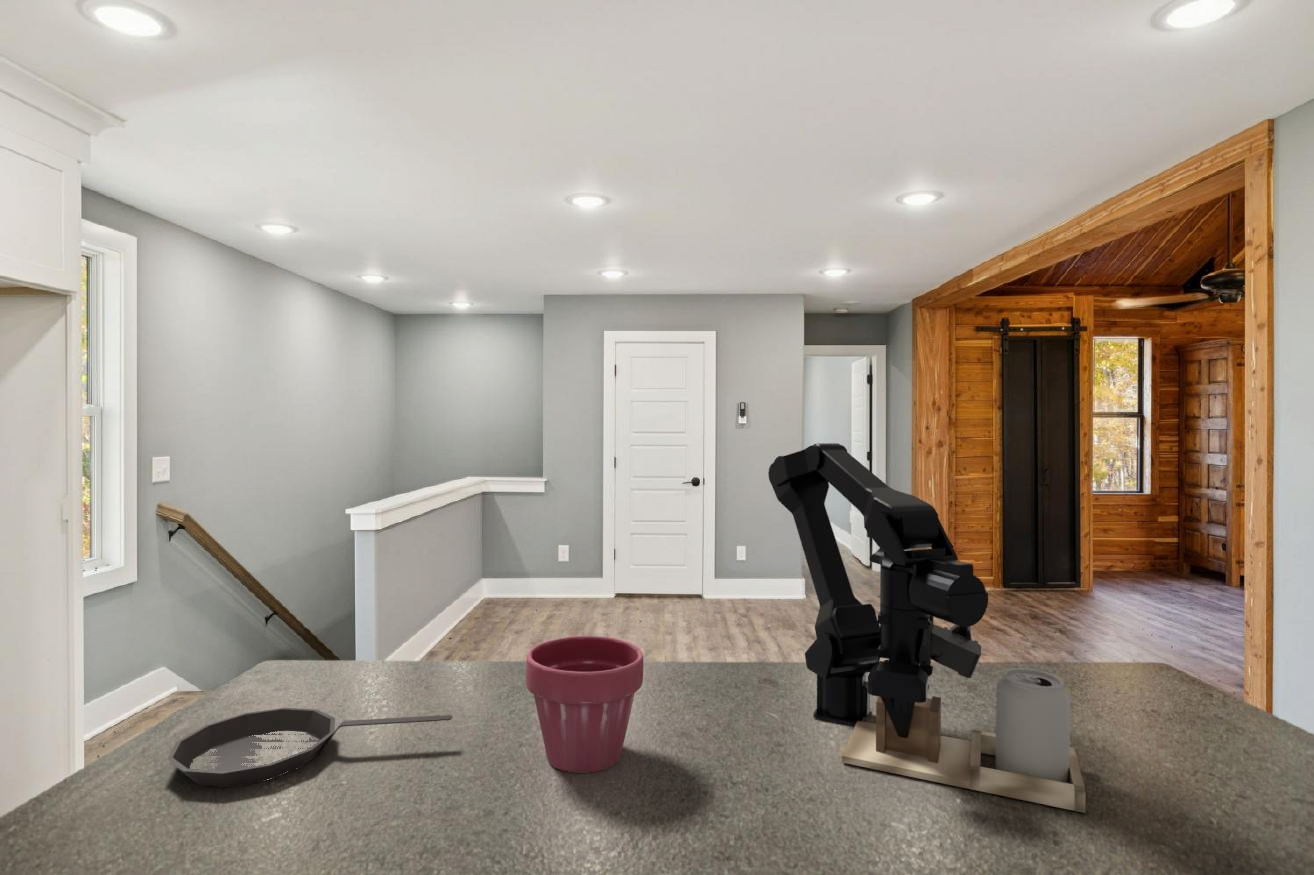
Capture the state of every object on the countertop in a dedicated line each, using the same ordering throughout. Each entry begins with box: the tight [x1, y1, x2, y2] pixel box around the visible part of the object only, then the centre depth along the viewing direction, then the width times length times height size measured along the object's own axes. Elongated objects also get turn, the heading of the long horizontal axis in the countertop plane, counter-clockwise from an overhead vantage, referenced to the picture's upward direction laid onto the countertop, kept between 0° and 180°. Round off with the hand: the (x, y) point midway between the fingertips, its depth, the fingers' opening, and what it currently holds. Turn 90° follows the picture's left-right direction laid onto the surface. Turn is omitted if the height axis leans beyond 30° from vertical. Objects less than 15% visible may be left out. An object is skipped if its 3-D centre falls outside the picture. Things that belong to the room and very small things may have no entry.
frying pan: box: [166, 707, 453, 788], centre depth 86 cm, size 18×32×4 cm, turn 98°
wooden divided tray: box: [841, 696, 1087, 814], centre depth 83 cm, size 25×11×7 cm, turn 65°
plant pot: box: [525, 635, 644, 774], centre depth 86 cm, size 14×14×13 cm
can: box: [994, 667, 1071, 783], centre depth 80 cm, size 8×8×12 cm
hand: (904, 731), depth 86 cm, fingers closed on wooden divided tray, 3 cm apart
